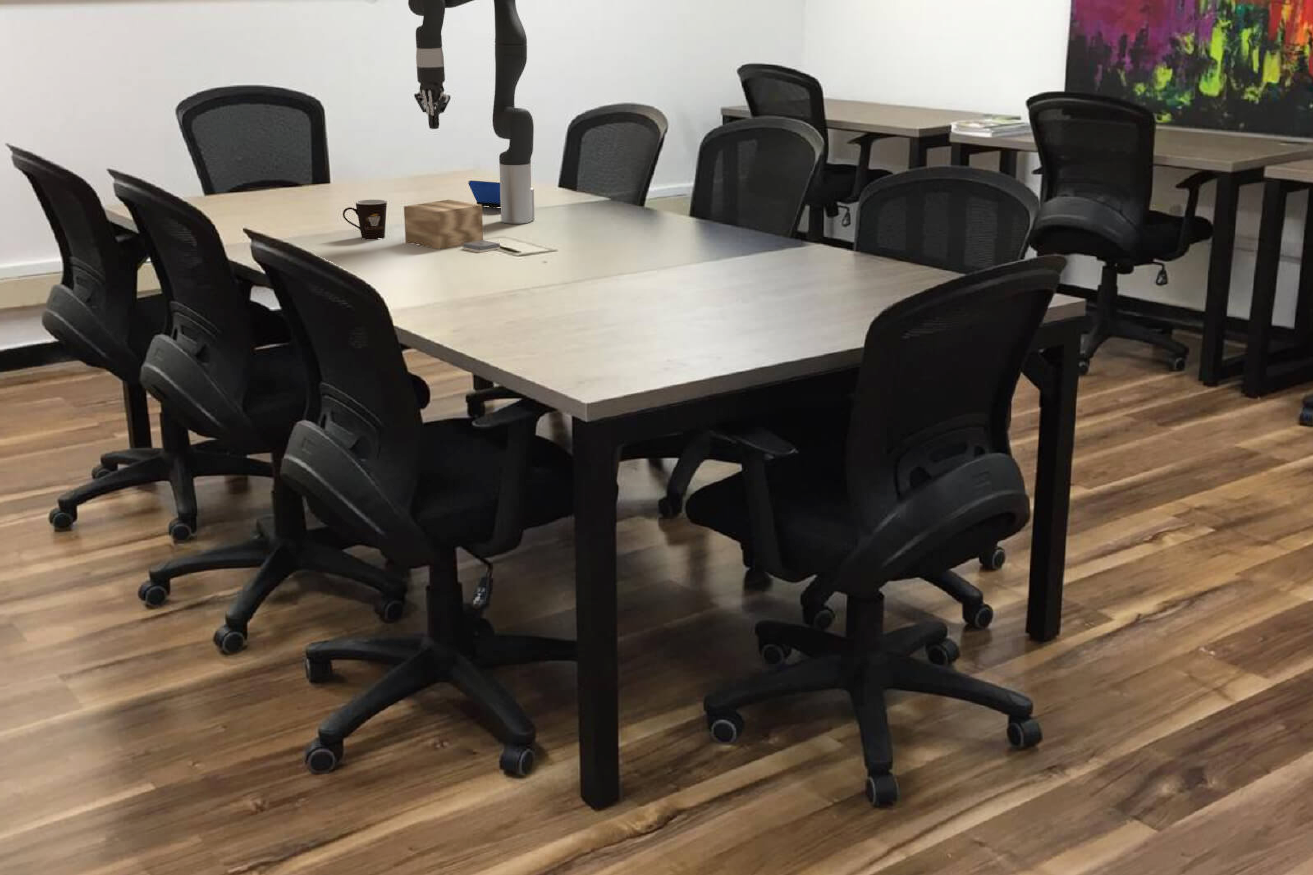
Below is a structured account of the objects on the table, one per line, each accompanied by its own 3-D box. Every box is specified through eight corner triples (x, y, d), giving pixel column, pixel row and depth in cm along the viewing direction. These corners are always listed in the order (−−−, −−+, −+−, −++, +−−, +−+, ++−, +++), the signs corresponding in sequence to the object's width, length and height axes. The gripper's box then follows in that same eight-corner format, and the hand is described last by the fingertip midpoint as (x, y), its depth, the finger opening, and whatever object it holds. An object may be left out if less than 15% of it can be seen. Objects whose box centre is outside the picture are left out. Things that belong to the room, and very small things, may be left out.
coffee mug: (392, 235, 421) (390, 199, 418) (384, 240, 413) (382, 204, 410) (352, 234, 422) (350, 199, 419) (343, 239, 414) (340, 203, 411)
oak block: (449, 234, 421) (448, 199, 418) (483, 240, 413) (481, 204, 409) (405, 242, 410) (403, 206, 407) (439, 248, 401) (437, 212, 398)
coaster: (499, 243, 401) (499, 250, 402) (482, 240, 406) (482, 247, 406) (479, 246, 396) (480, 254, 397) (462, 243, 401) (463, 250, 401)
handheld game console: (533, 207, 469) (532, 178, 466) (508, 213, 458) (507, 183, 455) (493, 203, 477) (492, 174, 474) (468, 209, 466) (466, 179, 463)
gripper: (456, 64, 408) (460, 128, 413) (424, 62, 416) (428, 125, 421) (436, 67, 402) (440, 131, 408) (404, 64, 410) (408, 128, 416)
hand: (434, 128), depth 415 cm, fingers closed
